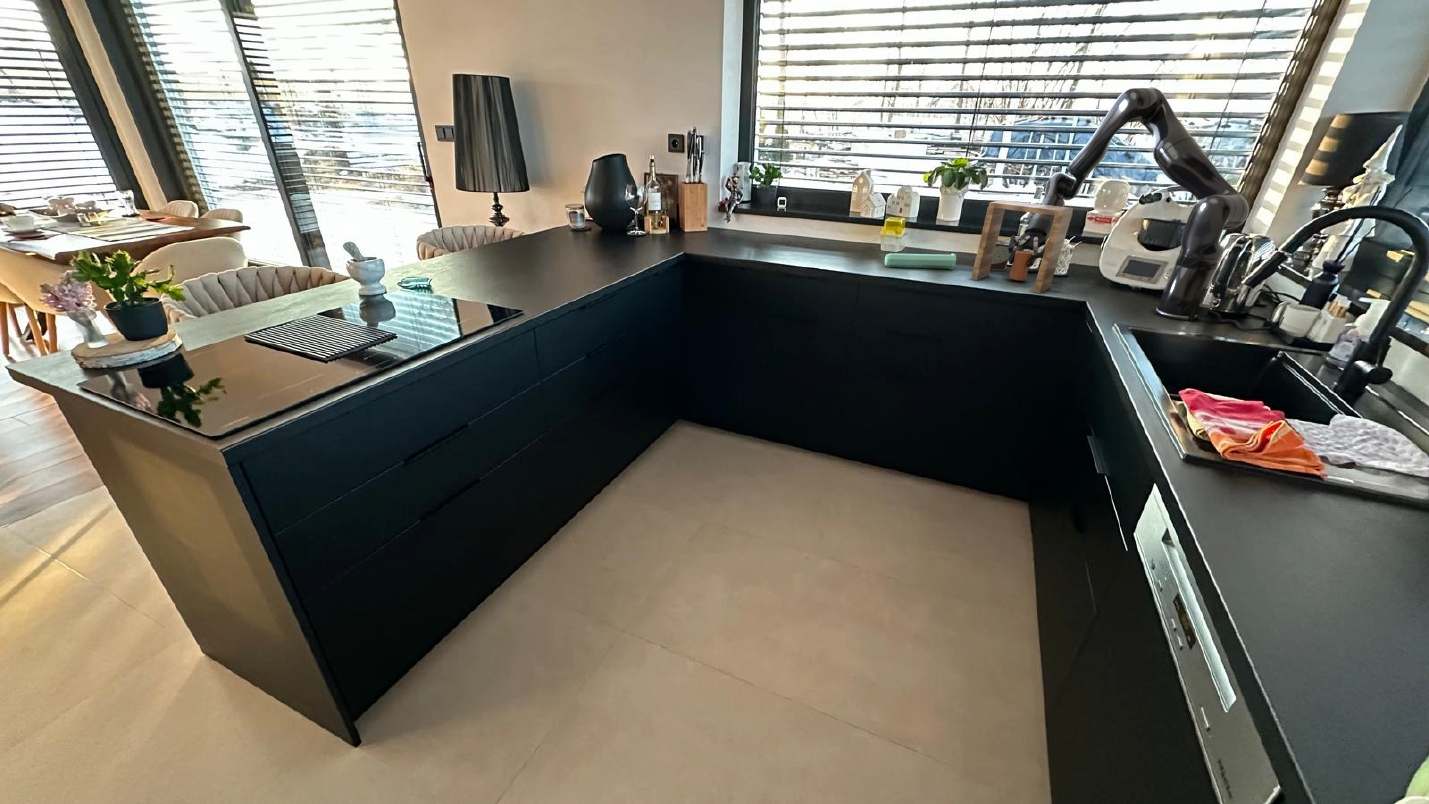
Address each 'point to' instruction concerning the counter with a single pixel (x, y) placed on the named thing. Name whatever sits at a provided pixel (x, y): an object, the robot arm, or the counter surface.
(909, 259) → the container
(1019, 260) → the tea tin
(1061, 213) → the shelf
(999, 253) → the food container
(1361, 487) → the counter surface
